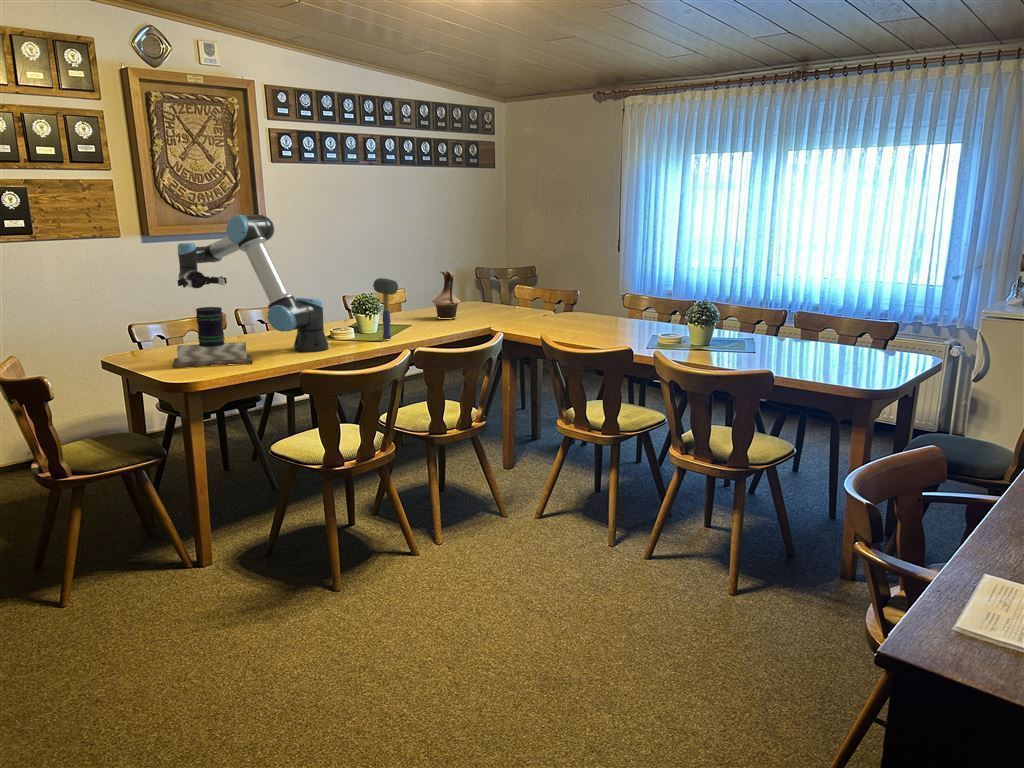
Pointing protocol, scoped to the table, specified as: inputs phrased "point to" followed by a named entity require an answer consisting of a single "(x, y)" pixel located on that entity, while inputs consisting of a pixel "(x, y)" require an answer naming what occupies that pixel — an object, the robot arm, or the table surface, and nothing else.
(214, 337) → the storage jar
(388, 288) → the rubber mallet
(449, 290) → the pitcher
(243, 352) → the ridge stand
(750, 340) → the table surface
